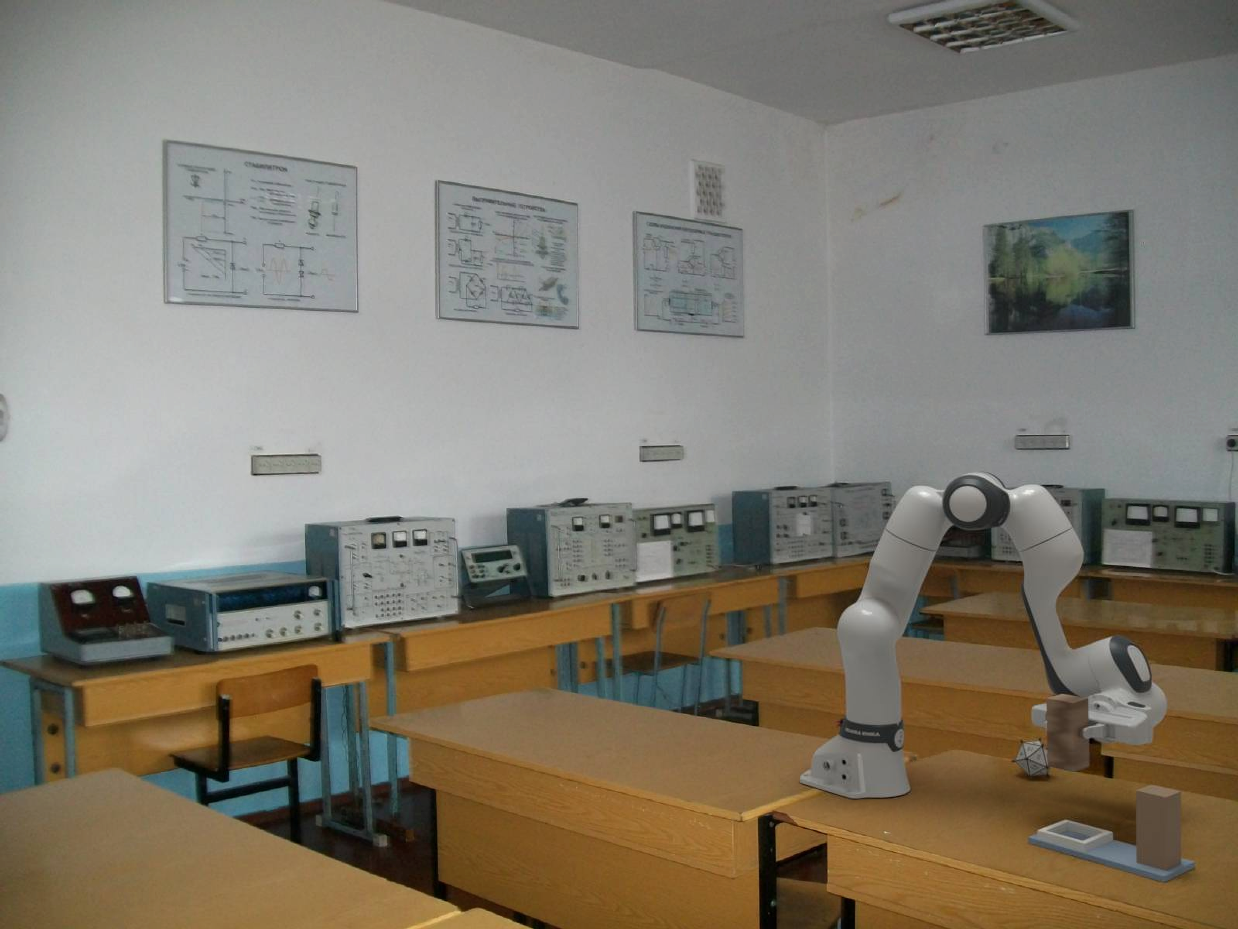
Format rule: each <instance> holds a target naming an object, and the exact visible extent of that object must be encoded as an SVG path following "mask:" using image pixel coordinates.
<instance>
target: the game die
mask: <svg viewBox="0 0 1238 929" xmlns="http://www.w3.org/2000/svg"><path fill="white" fill-rule="evenodd" d="M1019 742H1020V743H1021V744H1020V747H1019V749H1018V751H1017V754H1016V757H1015V759H1013V760H1011V761H1010V762H1011V763H1016V764H1017V765H1018V766H1019V768H1020V769H1021V770H1022V771H1024V773H1025V774H1027V775H1028V777H1027V778H1028V781H1030V780H1031V778H1032V777H1036V776H1045V775H1046V776H1047V778H1051V775H1050V774H1049V772H1050V770H1051V767H1049V766H1048V760H1047V745H1045V743H1044V742H1042V736H1040V737H1039V738H1038V740H1030V741H1024V740H1023V739H1021V738H1020V739H1019Z"/></svg>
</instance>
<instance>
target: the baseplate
mask: <svg viewBox="0 0 1238 929" xmlns="http://www.w3.org/2000/svg"><path fill="white" fill-rule="evenodd" d="M1135 792H1136V793H1135V796H1136V797H1135V813H1136V814H1135V823H1136V824H1135V826H1136V827H1135V828H1136V831H1135V832H1136V833H1135V835H1136V836H1135V838H1136V839H1135V840H1136V841H1135V842H1136V843H1135V844H1136V845H1133V844H1132V843H1131V844H1130V843H1127V842H1123V841H1120V840H1116V839H1114V832H1113V831H1110V830H1106V829H1104V828H1103V829H1102V828H1100V827H1099V828H1098V827H1096V826H1095V827H1094V826H1091V825H1088V824H1084V823H1081V822H1077V821H1074V820H1069V819H1063V820H1061V821H1059V822H1056V823H1053V824H1050V825H1048V826H1045V827H1043V828H1041V829H1037V833H1035V834H1033V835H1030V836H1028V837H1027V840H1028V842H1027V843H1028V844H1031V845H1033V846H1038V847H1041V848H1045V849H1049V850H1052V851H1055V852H1059V853H1061V852H1062V854H1065V855H1069V856H1072V855H1073V856H1072V857H1075V856H1076V858H1079V859H1083V860H1085V859H1086V861H1089V860H1090V861H1089V862H1093V863H1096V862H1098V863H1097V864H1099V863H1100V864H1099V865H1102V864H1103V866H1107V867H1110V868H1112V869H1117V870H1121V871H1124V872H1126V873H1130V874H1133V875H1137V876H1141V877H1144V878H1147V879H1150V880H1155V881H1158V882H1160V883H1167V882H1168V881H1171V880H1172V879H1174V878H1176V877H1177V878H1178V877H1179V876H1180V875H1183V874H1185V873H1187V872H1189V871H1191V870H1193V869H1195V868H1196V867H1195V866H1196V865H1195V864H1196V863H1195V861H1193V860H1190V859H1186V858H1183V857H1182V791H1181V790H1177V789H1172V788H1168V787H1164V786H1159V785H1154V784H1150V785H1147V786H1145V787H1142V788H1139V789H1136V790H1135Z"/></svg>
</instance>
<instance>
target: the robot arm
mask: <svg viewBox="0 0 1238 929" xmlns="http://www.w3.org/2000/svg"><path fill="white" fill-rule="evenodd" d="M953 526H955V527H957V528H959V529H960V530H961V529H962V530H964V531H980V530H986V529H993V528H1001V529H1003V530H1004V531H1005V532H1006V533H1007V534H1008V536H1009V537H1010V538H1011V541H1012V543H1013V544H1014V547H1015V549H1016V550H1017V552H1018V554H1019V556H1020V559H1021V562H1022V565H1023V571H1024V572H1023V575H1024V576H1023V579H1022V581H1021V584H1020V592H1021V597H1022V601H1023V604H1024V607H1025V609H1026V610H1025V611H1026V613H1027V616H1028V620H1029V622H1030V626H1031V629H1032V631H1033V634H1034V637H1035V640H1036V643H1037V645H1038V649H1039V652H1040V655H1041V658H1042V661H1043V664H1044V665H1043V666H1044V671H1045V676H1046V681H1047V684H1048V687H1049V688H1050V691H1051V692H1052V693H1053V694H1054V696H1056V695H1060V694H1066V695H1072V696H1078V697H1084V698H1088V711H1089V727H1087V726H1082V727H1079V729H1078V732H1079V734H1078V736H1079V737H1080V738H1085V739H1089V740H1090V739H1091V738H1092V739H1094V740H1095V741H1097V742H1099V743H1103V744H1110V743H1119V744H1123V745H1124V744H1125V745H1128V746H1129V745H1130V746H1140V745H1149V744H1152V743H1153V738H1154V728H1155V727H1156V726H1157V725H1158V724H1160V722H1161V721H1162V720H1163V719H1164V718H1165V715H1166V714H1167V710H1168V700H1167V697H1166V694H1165V693H1164V691H1163V690H1162V689H1161V687H1159V685H1158V684H1156V683H1155V682H1154V681H1153V678H1152V677H1153V676H1152V670H1151V667H1150V663H1149V661H1148V659H1147V656H1146V655H1145V653H1144V651H1143V650H1142V649H1141V648H1140V646H1138V645H1137V644H1136V643H1134V642H1133V641H1132V640H1131V639H1129V638H1127V637H1125V636H1123V635H1120V634H1117V635H1116V634H1115V635H1113V636H1109V637H1106V638H1102V639H1100V640H1097V641H1094V642H1092V643H1090V644H1089V643H1088V644H1085V645H1084V646H1081V647H1078V648H1075V649H1073V648H1071V647H1070V646H1069V645H1068V642H1067V638H1066V636H1065V633H1064V630H1063V627H1062V624H1061V622H1060V618H1059V616H1058V613H1057V608H1056V607H1057V606H1056V604H1057V600H1058V597H1059V595H1060V594H1061V592H1062V591H1063V590H1064V589H1065V588H1066V587H1067V586H1068V585H1069V584H1070V583H1071V582H1072V581H1073V580H1074V579H1075V577H1076V576H1077V575H1078V574H1079V572H1080V569H1081V567H1082V565H1083V562H1084V556H1085V553H1084V548H1083V546H1082V542H1081V541H1080V538H1079V536H1078V534H1077V533H1076V531H1075V529H1074V527H1073V525H1072V524H1071V522H1070V520H1069V518H1068V516H1067V515H1066V513H1065V512H1064V511H1063V509H1062V507H1061V506H1060V505H1059V503H1058V502H1057V500H1056V499H1055V497H1053V496H1052V494H1051V493H1050V492H1049V490H1047V489H1046V488H1045V487H1044V486H1042V485H1039V484H1024V485H1021V486H1019V487H1018V486H1017V487H1015V488H1013V489H1007V488H1006V486H1005V484H1004V483H1003V481H1002V480H1001V479H1000V478H999V477H998V476H996V475H994V474H992V473H991V472H987V471H981V470H979V471H969V472H965V473H963V474H961V475H959V476H958V477H957V478H955V479H953V480H952V481H950V482H949V484H948V485H947V486H946V487H945V489H937V488H934V487H931V486H927V485H915V486H912V487H910V488H908V490H907V491H905V493H904V495H903V496H902V497H901V499H899V502H898V503H897V504H896V507H895V508H894V510H893V512H892V513H891V515H890V518H889V519H888V521H887V523H886V526H885V528H884V530H883V532H882V535H881V536H880V539H879V542H878V544H877V546H876V548H875V550H874V552H873V556H872V557H871V560H870V561H869V568H868V571H867V575H866V578H865V582H864V584H863V587H862V590H861V593H860V595H859V597H858V599H857V601H856V602H855V603H853V604H851V605H849V606H848V607H847V608H845V610H844V611H843V612H842V613H841V616H840V618H839V620H838V623H837V628H836V634H837V639H838V641H839V642H838V643H839V646H840V652H841V659H842V665H843V671H844V677H845V678H844V679H845V713H846V714H845V716H844V717H842V718H840V719H839V720H836V721H835V722H834V724H835V725H834V728H838V727H839V731H838V734H837V735H836V736H835V735H834V737H832V738H831V739H829V740H828V741H827V742H825V743H824V744H823V745H821V746H819V747H818V748H817V749H816V751H814V753H813V756H812V759H811V764H810V769H809V770H806V771H805V772H803V773H802V774H801V775H800V777H799V778H800V779H799V782H800V784H804V785H807V786H810V787H813V788H816V789H819V790H823V791H826V792H830V793H833V794H836V795H839V796H843V797H846V798H848V799H864V798H891V797H897V796H898V797H899V796H902V795H905V794H907V793H909V792H910V791H911V786H910V782H909V779H908V775H907V770H906V765H905V758H904V750H903V748H904V743H905V733H904V732H905V729H904V727H905V726H904V724H905V723H904V720H903V718H902V681H901V678H900V674H899V669H898V664H897V655H896V654H897V653H896V643H897V642H898V641H899V640H900V639H901V638H902V637H903V635H904V632H905V630H906V628H907V626H908V623H909V621H910V618H911V615H912V613H913V610H914V607H915V604H916V601H917V599H918V596H919V593H920V590H921V587H922V585H923V583H924V581H925V578H926V576H927V574H928V571H929V569H930V567H931V565H932V562H933V560H934V558H935V556H936V554H937V552H938V549H939V547H940V544H941V542H942V540H943V539H944V536H945V534H946V533H947V531H948V530H949V529H950V528H951V527H953ZM1030 713H1031V716H1030V718H1031V723H1032V725H1033V726H1035V727H1038V728H1043V729H1044V730H1045V731H1046V732H1047V702H1046V703H1040V704H1037V705H1036V704H1035V705H1033V706H1032V707H1031V711H1030Z"/></svg>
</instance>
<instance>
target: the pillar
mask: <svg viewBox="0 0 1238 929" xmlns="http://www.w3.org/2000/svg"><path fill="white" fill-rule="evenodd" d="M1046 703H1047V731H1046V747H1047V760H1048V766H1049V767H1050V768H1054V769H1059V770H1064V771H1066V772H1067V771H1068V772H1073V773H1075V772H1078V771H1081V770H1083V769H1086V768H1089V767H1090V738H1089V739H1085V738H1080V737H1079V736H1078V734H1079V732H1078V729H1079V727H1082V726H1087V727H1089V711H1088V698H1084V697H1078V696H1072V695H1066V694H1060V695H1053V696H1050V697H1049V696H1048V697H1046Z"/></svg>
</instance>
